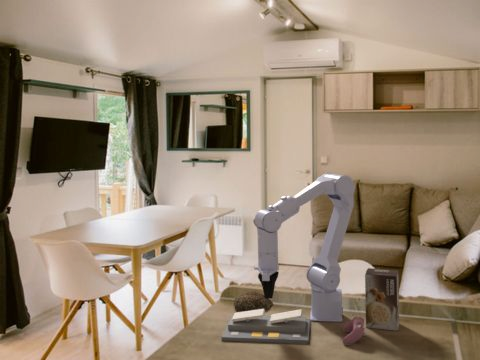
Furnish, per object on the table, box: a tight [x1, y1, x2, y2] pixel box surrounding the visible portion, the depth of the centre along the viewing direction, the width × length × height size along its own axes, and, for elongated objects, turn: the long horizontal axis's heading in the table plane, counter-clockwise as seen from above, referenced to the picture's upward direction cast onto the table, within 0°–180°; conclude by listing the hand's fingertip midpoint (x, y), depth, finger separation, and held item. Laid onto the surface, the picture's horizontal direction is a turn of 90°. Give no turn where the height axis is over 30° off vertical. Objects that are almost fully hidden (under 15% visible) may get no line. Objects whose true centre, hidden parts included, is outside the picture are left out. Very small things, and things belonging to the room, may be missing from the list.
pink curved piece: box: [342, 315, 366, 346], centre depth 143 cm, size 10×5×7 cm, turn 169°
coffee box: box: [364, 267, 400, 332], centre depth 151 cm, size 9×6×16 cm
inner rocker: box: [270, 308, 303, 324], centre depth 151 cm, size 9×5×1 cm, turn 80°
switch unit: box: [220, 313, 311, 345], centre depth 150 cm, size 24×15×2 cm, turn 81°
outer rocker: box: [232, 309, 266, 322], centre depth 153 cm, size 9×5×1 cm, turn 80°
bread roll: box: [233, 290, 274, 312], centre depth 171 cm, size 13×12×5 cm
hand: (268, 297), depth 151 cm, fingers closed
